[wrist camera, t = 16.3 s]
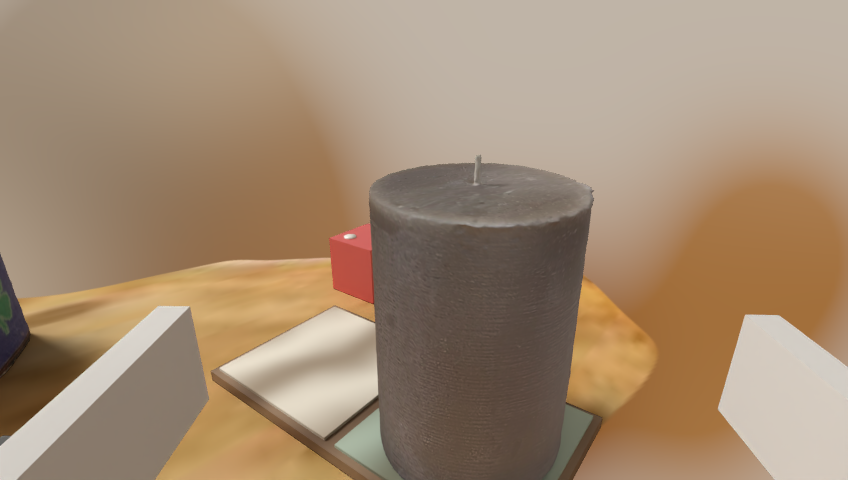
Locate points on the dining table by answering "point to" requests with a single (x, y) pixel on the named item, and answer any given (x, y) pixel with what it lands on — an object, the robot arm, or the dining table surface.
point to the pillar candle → (475, 316)
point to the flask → (10, 323)
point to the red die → (353, 263)
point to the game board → (348, 395)
